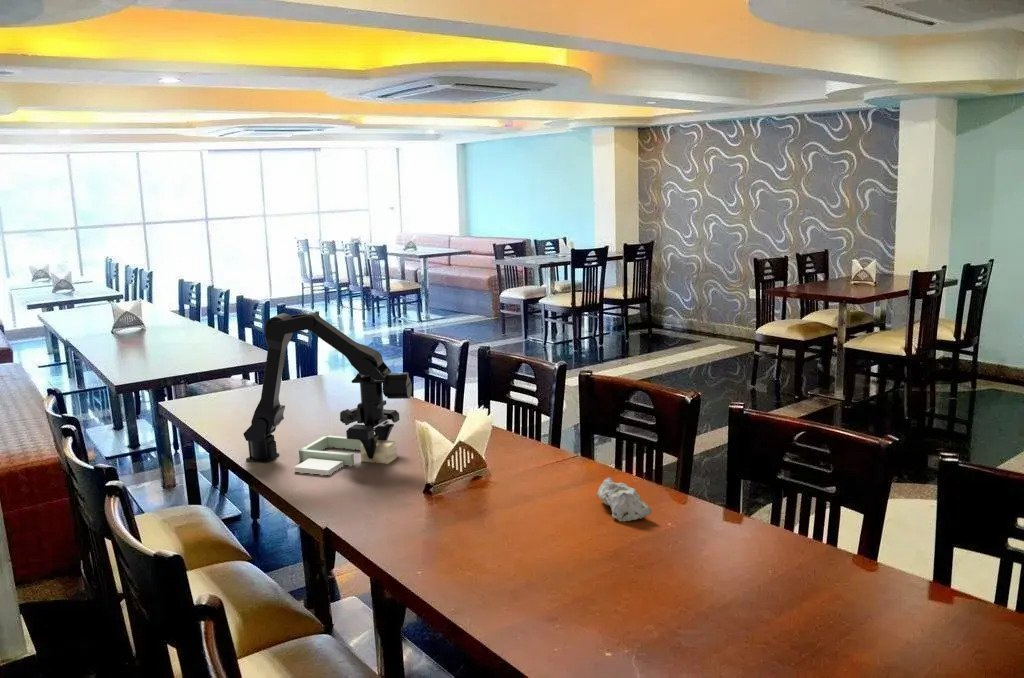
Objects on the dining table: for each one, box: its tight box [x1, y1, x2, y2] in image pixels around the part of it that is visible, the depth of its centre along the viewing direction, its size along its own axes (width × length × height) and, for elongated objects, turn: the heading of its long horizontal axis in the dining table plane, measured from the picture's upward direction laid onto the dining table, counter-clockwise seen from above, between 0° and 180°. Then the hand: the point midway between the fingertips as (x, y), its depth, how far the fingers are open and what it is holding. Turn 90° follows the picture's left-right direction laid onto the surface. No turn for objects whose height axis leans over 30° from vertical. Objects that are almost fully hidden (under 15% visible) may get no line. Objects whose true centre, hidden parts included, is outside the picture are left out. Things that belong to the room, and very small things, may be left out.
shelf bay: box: [298, 434, 362, 467], centre depth 220 cm, size 16×13×3 cm
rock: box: [597, 477, 652, 523], centre depth 178 cm, size 16×7×7 cm, turn 25°
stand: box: [293, 458, 344, 476], centre depth 210 cm, size 10×7×2 cm
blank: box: [359, 440, 398, 465], centre depth 216 cm, size 8×5×4 cm, turn 71°
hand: (375, 455), depth 217 cm, fingers closed on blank, 5 cm apart
